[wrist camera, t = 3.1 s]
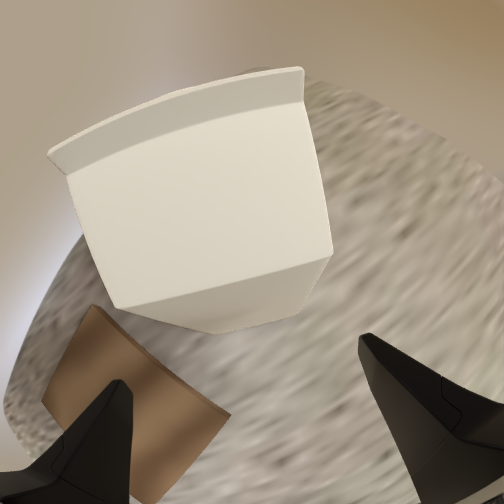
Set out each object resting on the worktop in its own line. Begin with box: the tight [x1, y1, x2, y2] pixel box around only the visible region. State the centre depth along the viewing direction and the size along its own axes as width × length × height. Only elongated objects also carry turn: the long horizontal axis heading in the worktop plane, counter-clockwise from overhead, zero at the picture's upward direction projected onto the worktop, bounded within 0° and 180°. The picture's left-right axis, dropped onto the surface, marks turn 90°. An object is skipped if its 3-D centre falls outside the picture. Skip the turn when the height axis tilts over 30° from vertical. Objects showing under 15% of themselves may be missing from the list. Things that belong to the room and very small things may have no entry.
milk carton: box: [47, 67, 333, 335], centre depth 14 cm, size 7×7×19 cm
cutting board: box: [41, 305, 231, 504], centre depth 19 cm, size 16×14×2 cm
